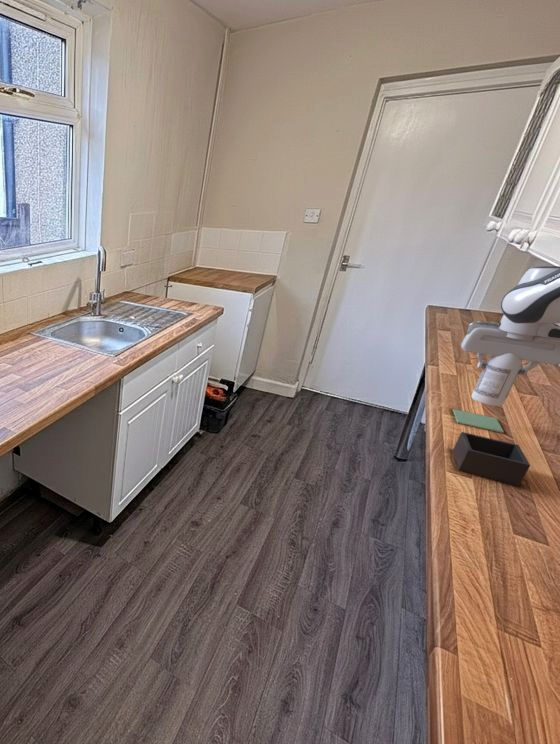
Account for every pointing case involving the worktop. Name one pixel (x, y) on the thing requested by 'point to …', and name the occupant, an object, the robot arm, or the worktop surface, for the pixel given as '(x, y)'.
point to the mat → (477, 420)
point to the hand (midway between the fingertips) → (500, 371)
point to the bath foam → (497, 379)
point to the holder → (490, 458)
